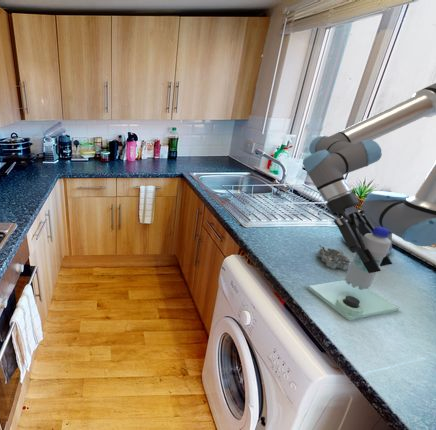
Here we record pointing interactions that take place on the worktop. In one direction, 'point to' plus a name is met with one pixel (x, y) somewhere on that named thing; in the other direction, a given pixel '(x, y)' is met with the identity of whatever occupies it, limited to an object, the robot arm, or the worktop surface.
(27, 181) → the worktop surface
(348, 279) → the bottle
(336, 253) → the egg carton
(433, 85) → the robot arm
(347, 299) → the button
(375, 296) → the scale
